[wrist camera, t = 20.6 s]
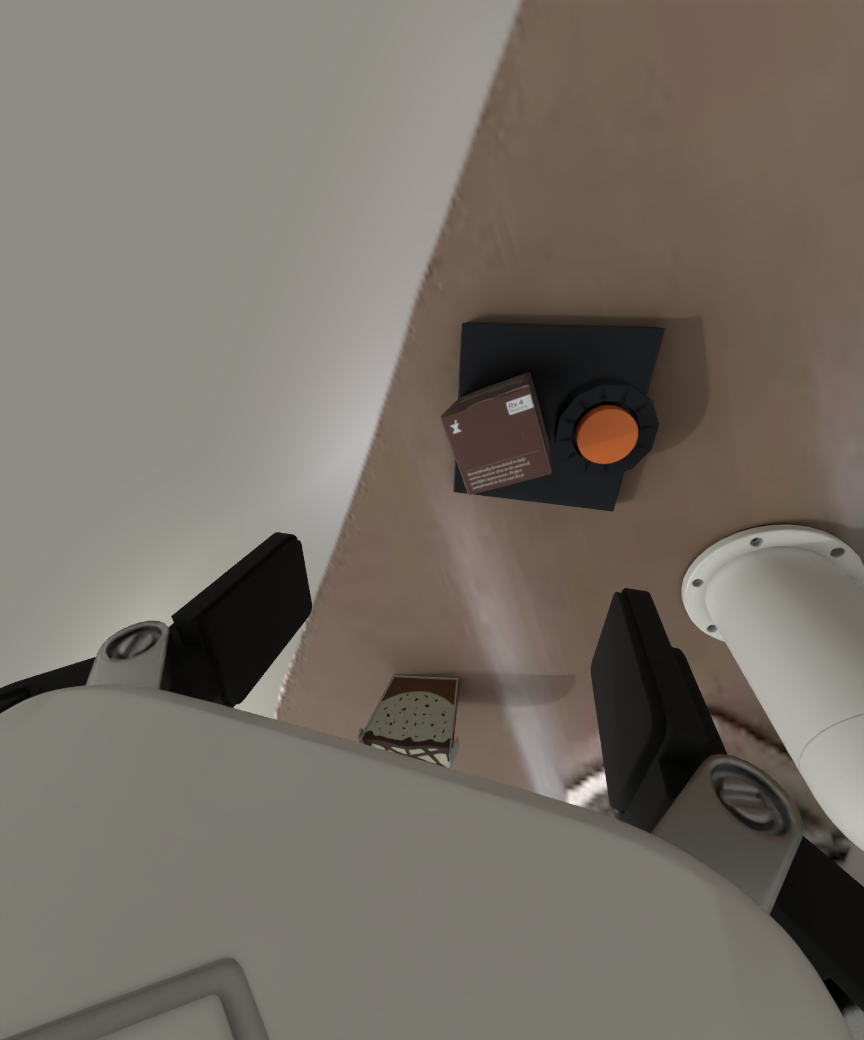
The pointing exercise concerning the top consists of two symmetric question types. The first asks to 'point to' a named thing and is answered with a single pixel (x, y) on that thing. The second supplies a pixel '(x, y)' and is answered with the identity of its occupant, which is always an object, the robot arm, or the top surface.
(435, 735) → the food container
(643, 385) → the scale
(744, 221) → the top surface
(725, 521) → the top surface
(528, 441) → the box
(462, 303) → the top surface
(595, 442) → the button
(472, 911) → the robot arm
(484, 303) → the top surface
